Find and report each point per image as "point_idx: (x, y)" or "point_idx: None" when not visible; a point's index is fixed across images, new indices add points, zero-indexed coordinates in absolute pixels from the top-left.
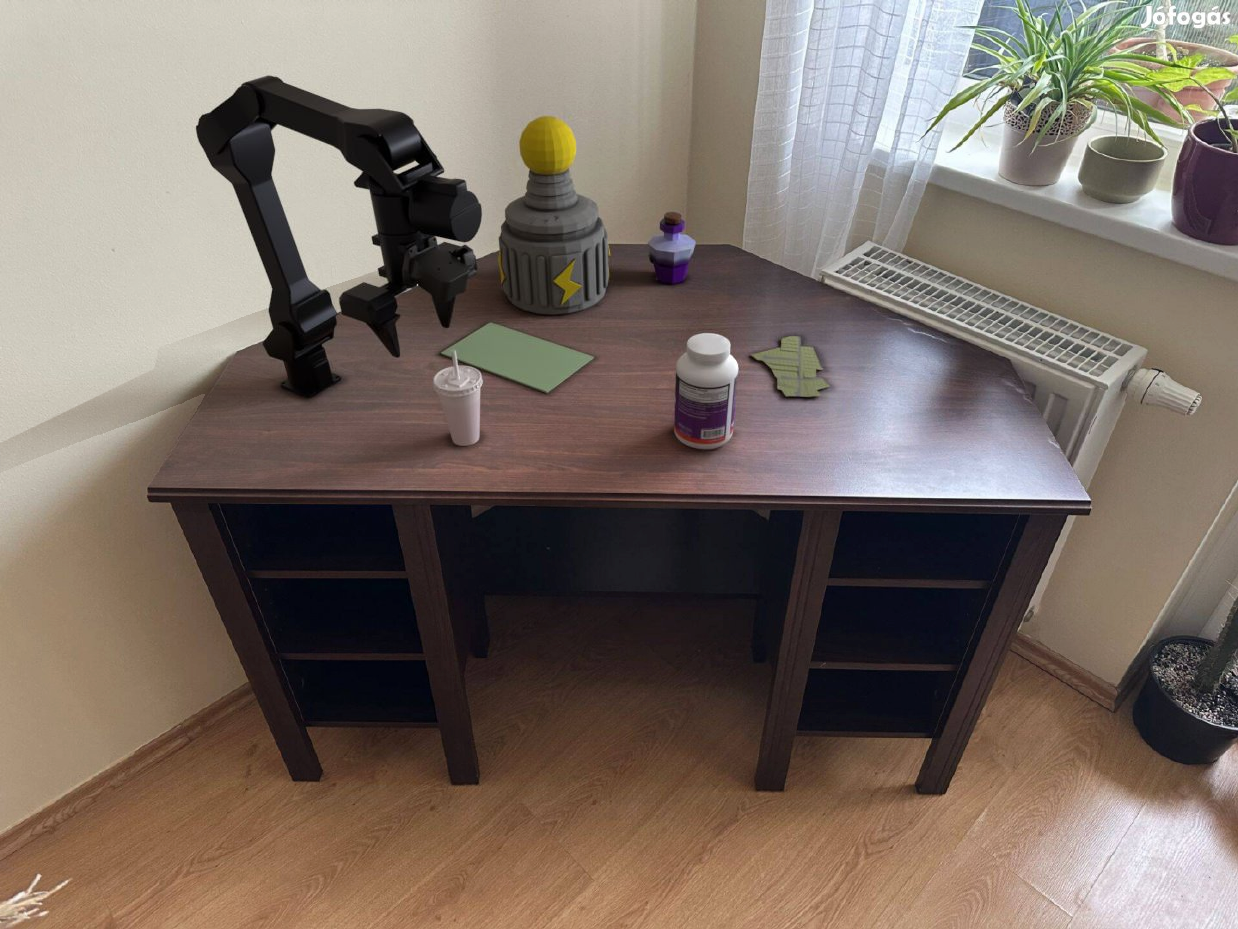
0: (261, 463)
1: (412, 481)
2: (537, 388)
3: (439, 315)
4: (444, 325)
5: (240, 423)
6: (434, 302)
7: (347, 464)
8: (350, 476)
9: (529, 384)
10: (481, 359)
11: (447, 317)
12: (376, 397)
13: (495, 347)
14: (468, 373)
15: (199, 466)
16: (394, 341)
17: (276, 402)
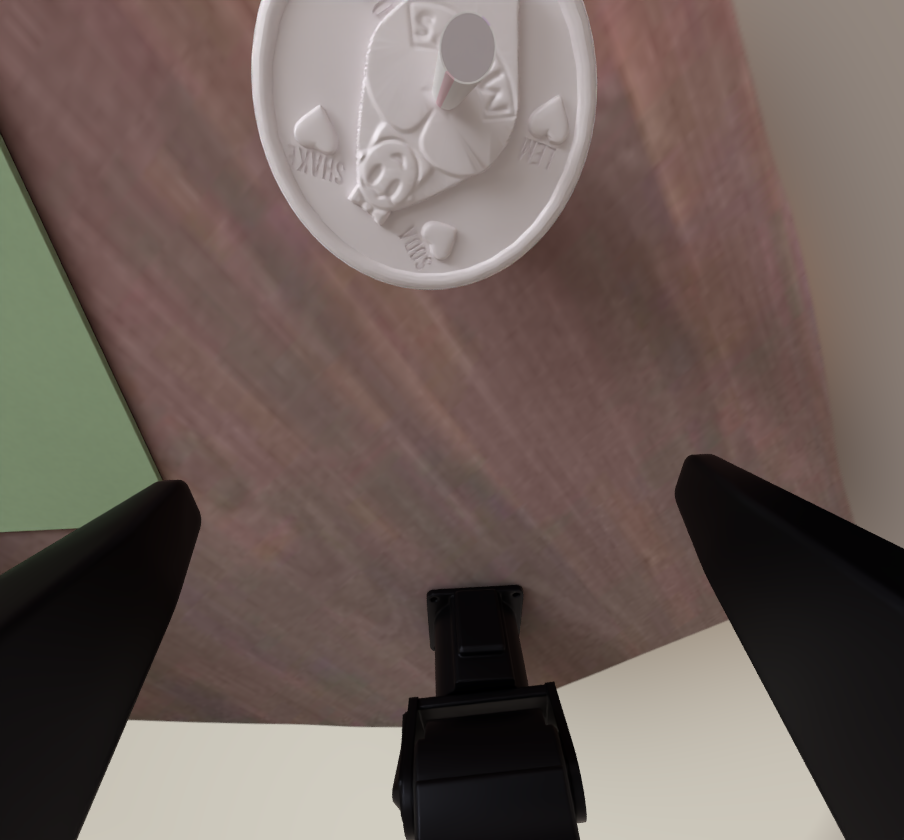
0: None
1: (720, 106)
2: None
3: (162, 600)
4: (186, 510)
5: (646, 605)
6: (108, 742)
7: (701, 350)
8: (748, 303)
9: (6, 169)
10: (91, 424)
11: (119, 541)
12: (430, 499)
13: (12, 437)
14: (334, 90)
15: None
16: (882, 550)
17: (559, 611)
